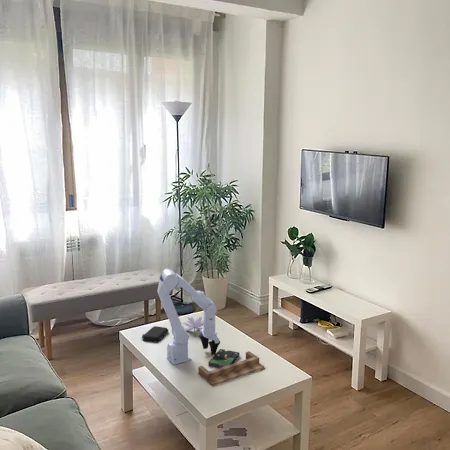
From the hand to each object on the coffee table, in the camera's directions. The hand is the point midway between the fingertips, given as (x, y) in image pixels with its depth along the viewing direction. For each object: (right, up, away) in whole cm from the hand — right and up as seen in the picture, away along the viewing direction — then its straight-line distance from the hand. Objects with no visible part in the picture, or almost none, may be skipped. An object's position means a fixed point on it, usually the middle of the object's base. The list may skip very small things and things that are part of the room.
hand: (209, 351), depth 227 cm
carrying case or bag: (-30, +2, +20) cm, 36 cm away
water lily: (-8, +3, +25) cm, 27 cm away
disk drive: (+7, -4, -6) cm, 10 cm away
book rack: (+11, -5, -17) cm, 21 cm away
